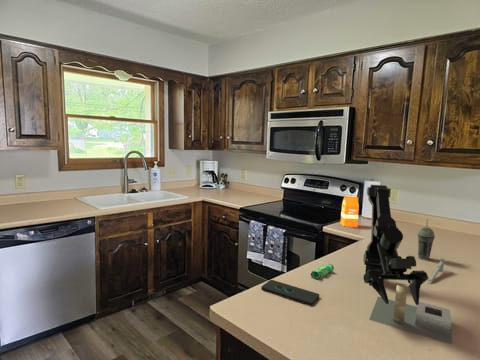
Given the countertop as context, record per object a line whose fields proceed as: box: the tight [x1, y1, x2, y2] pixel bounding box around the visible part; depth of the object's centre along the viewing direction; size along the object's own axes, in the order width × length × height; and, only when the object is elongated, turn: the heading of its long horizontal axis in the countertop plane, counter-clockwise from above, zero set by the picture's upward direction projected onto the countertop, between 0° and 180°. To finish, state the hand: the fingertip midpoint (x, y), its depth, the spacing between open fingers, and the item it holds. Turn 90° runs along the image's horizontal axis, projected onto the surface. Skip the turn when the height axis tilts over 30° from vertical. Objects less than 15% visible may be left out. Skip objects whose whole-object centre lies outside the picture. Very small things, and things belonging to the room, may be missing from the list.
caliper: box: [427, 257, 445, 285], centre depth 135 cm, size 20×1×6 cm, turn 135°
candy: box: [310, 263, 335, 280], centre depth 134 cm, size 12×3×4 cm
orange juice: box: [340, 196, 360, 228], centre depth 212 cm, size 8×9×20 cm
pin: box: [393, 284, 408, 324], centre depth 99 cm, size 3×3×12 cm
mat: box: [369, 296, 453, 345], centre depth 102 cm, size 22×18×1 cm
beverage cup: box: [417, 218, 436, 261], centre depth 155 cm, size 7×7×20 cm
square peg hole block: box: [415, 301, 452, 336], centre depth 99 cm, size 9×9×4 cm
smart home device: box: [261, 279, 320, 307], centre depth 117 cm, size 8×2×20 cm
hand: (402, 304), depth 98 cm, fingers open, 9 cm apart
